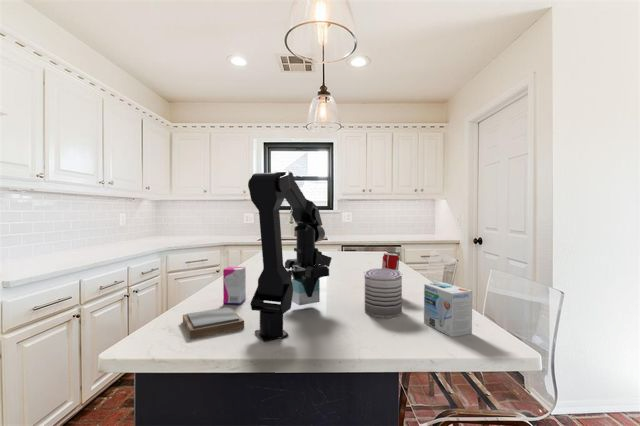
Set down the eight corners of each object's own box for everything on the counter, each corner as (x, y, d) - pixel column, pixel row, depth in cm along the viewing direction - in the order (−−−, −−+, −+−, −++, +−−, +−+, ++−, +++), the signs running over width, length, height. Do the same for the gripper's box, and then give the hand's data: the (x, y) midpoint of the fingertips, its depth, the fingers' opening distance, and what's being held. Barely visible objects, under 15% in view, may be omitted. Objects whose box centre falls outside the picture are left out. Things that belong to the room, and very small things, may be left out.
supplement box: (246, 300, 109) (246, 266, 108) (240, 305, 103) (240, 269, 102) (229, 299, 109) (229, 266, 109) (222, 304, 103) (222, 269, 103)
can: (408, 310, 98) (408, 271, 97) (391, 320, 89) (391, 277, 89) (375, 303, 105) (375, 266, 105) (356, 312, 96) (356, 272, 96)
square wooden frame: (244, 328, 83) (244, 318, 82) (190, 338, 76) (190, 328, 76) (230, 314, 94) (230, 305, 94) (182, 322, 87) (182, 313, 87)
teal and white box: (311, 298, 103) (311, 276, 103) (319, 302, 99) (319, 279, 99) (292, 301, 99) (292, 278, 99) (299, 305, 95) (299, 282, 95)
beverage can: (377, 294, 116) (377, 252, 116) (393, 292, 118) (393, 252, 118) (385, 298, 110) (385, 255, 110) (402, 296, 112) (402, 254, 112)
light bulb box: (422, 323, 87) (423, 283, 87) (442, 320, 89) (442, 281, 89) (451, 337, 77) (452, 293, 77) (473, 334, 79) (473, 290, 79)
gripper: (344, 246, 95) (344, 298, 95) (313, 241, 111) (313, 285, 111) (311, 248, 89) (311, 304, 89) (284, 242, 105) (284, 289, 106)
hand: (305, 295), depth 99 cm, fingers closed on teal and white box, 5 cm apart
